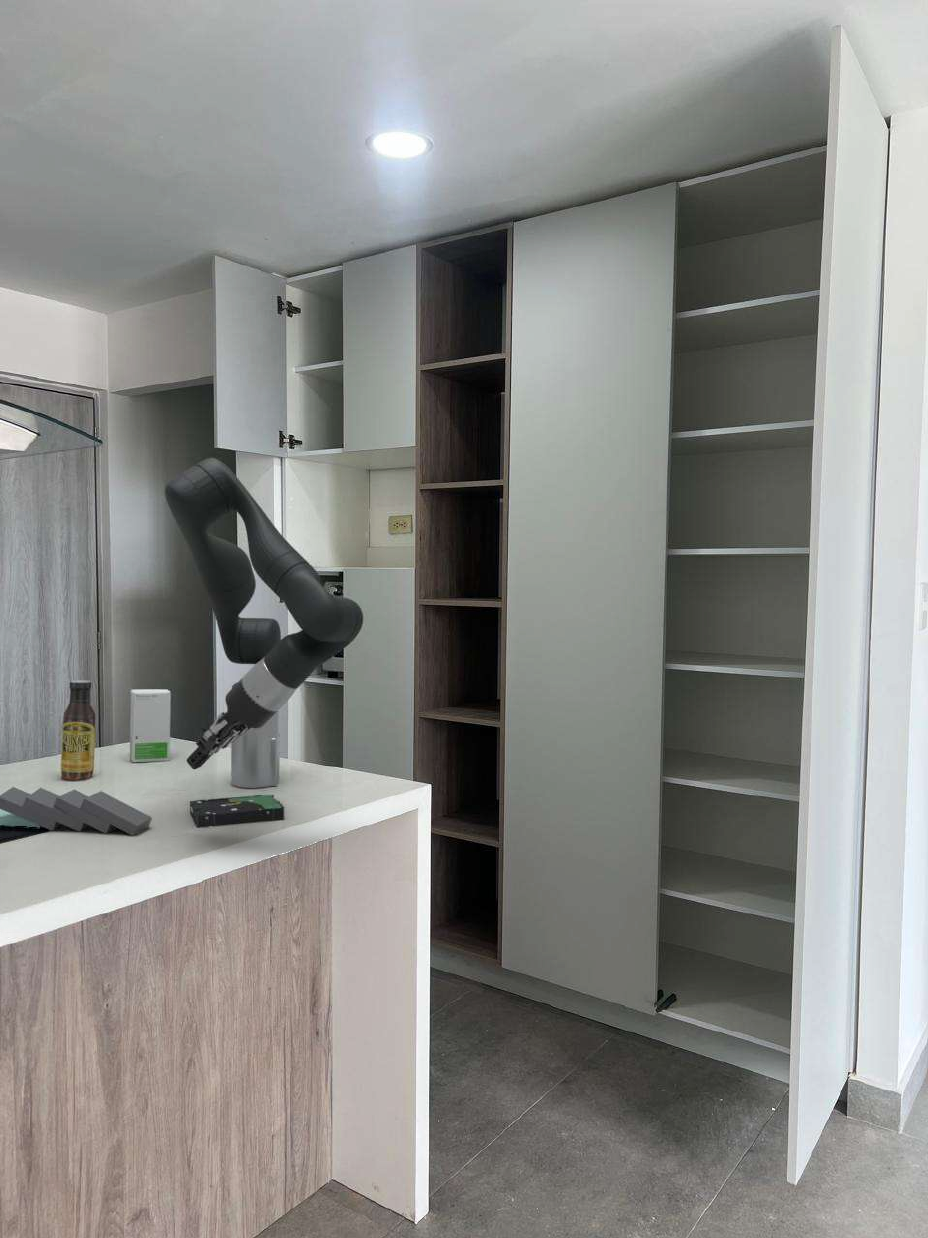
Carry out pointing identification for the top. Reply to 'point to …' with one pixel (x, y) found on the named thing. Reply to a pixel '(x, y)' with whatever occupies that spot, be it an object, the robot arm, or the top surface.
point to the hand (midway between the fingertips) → (192, 764)
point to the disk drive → (236, 810)
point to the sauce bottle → (78, 734)
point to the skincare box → (150, 725)
